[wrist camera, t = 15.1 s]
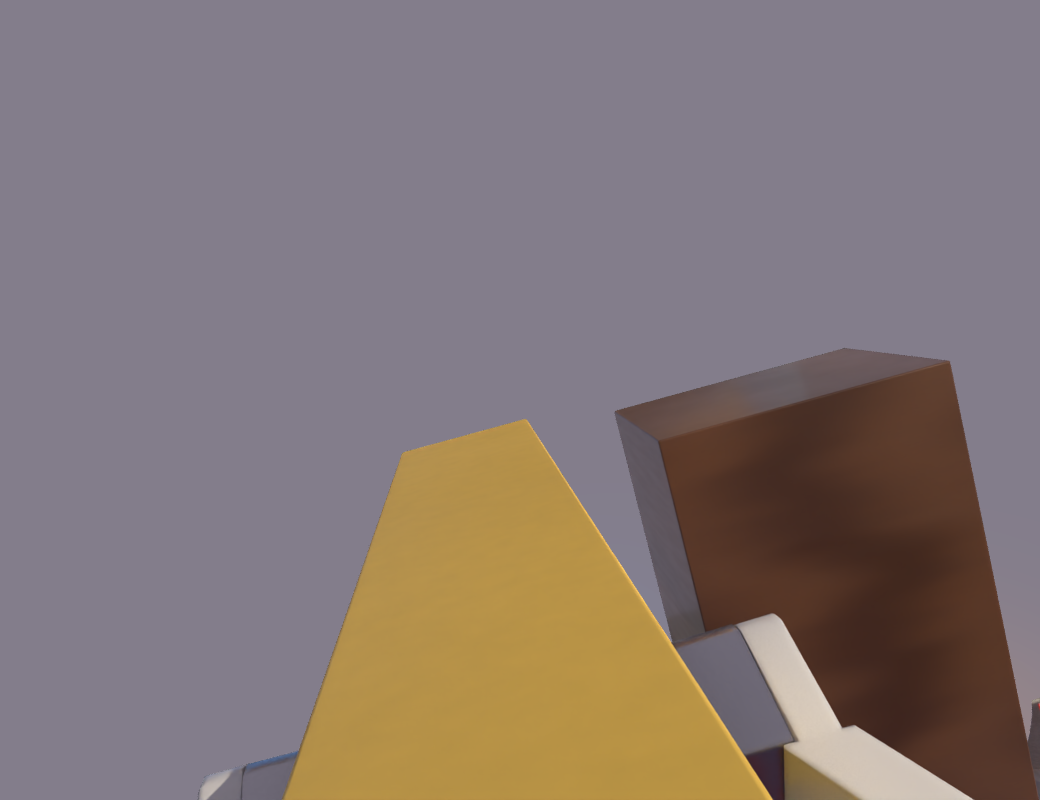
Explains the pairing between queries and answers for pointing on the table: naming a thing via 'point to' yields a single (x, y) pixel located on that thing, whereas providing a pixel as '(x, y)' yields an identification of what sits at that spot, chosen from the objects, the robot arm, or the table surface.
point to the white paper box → (1035, 742)
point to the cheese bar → (505, 653)
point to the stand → (842, 547)
